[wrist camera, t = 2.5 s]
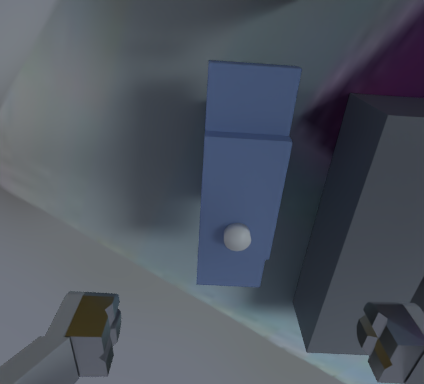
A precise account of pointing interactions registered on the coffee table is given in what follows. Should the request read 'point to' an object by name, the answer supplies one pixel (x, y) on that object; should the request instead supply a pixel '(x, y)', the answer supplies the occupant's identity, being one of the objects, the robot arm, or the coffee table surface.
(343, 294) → the plate
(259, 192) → the block
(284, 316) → the coffee table surface
